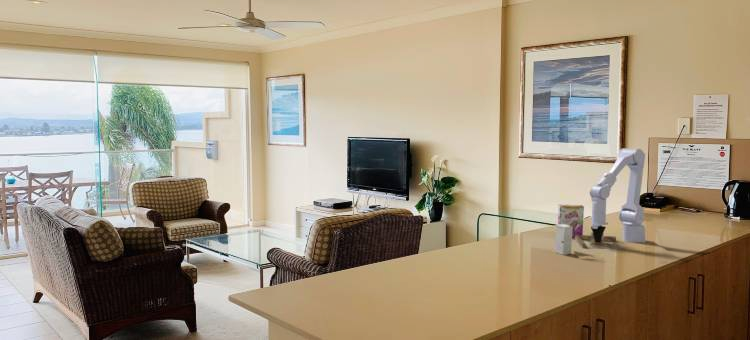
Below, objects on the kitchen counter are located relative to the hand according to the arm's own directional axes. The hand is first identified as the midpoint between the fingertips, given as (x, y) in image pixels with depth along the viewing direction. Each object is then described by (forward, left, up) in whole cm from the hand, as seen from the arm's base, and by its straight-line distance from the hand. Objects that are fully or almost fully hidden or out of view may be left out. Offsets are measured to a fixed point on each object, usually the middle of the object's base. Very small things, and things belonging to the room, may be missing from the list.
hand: (597, 242), depth 264 cm
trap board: (-1, -2, -2) cm, 3 cm away
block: (-1, -4, -1) cm, 4 cm away
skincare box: (+17, +15, -2) cm, 23 cm away
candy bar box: (+9, -20, -2) cm, 22 cm away
